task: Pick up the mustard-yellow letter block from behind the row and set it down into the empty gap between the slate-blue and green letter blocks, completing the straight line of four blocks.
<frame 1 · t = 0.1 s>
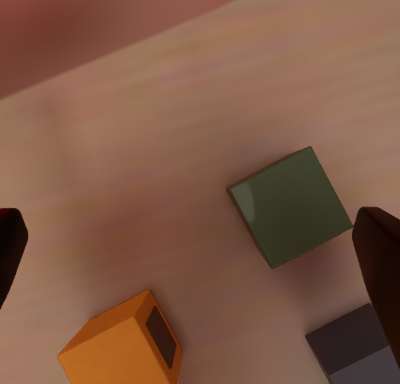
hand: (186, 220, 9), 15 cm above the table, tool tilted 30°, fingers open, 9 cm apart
green block: (274, 203, 24), on the table
mustard block: (135, 336, 24), on the table
slate block: (353, 351, 24), on the table
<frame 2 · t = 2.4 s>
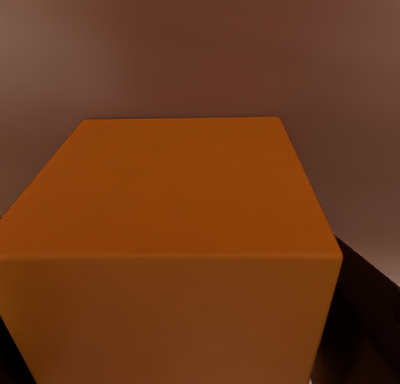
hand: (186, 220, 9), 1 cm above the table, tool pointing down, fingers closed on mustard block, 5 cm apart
mustard block: (185, 198, 10), on the table, touching gripper
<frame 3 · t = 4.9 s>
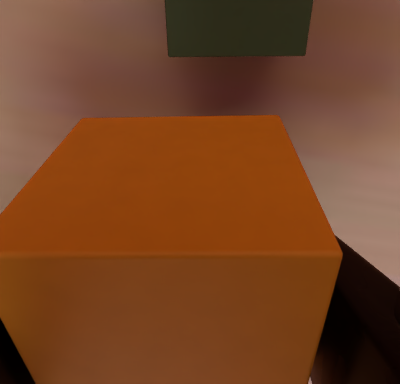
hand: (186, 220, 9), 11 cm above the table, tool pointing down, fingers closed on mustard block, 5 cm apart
mustard block: (184, 197, 10), point 10 cm above the table, touching gripper
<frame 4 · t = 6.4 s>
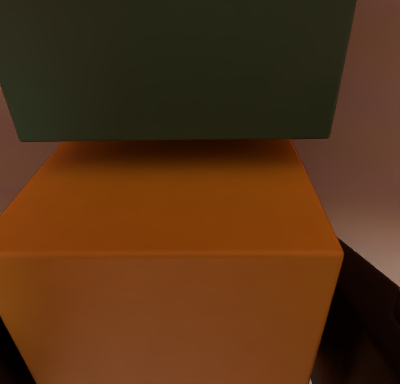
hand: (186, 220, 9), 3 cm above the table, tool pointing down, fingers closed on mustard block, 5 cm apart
mustard block: (185, 197, 10), point 2 cm above the table, touching gripper
when the fingers open (1 cm above the table, at t = 7.5 s): mustard block stays where it is, on the table.
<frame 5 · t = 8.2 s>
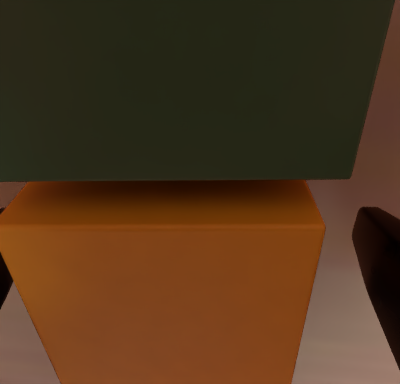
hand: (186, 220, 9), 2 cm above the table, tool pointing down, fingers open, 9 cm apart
mustard block: (184, 187, 11), on the table
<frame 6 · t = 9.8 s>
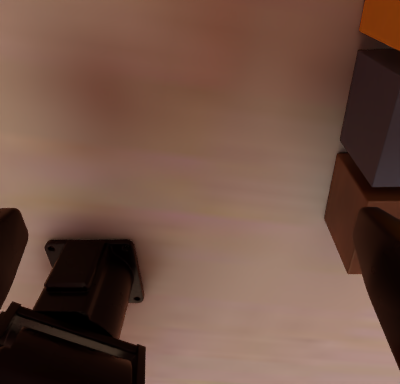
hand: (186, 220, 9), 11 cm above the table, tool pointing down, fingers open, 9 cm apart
walnut block: (370, 187, 22), on the table
slate block: (395, 97, 19), on the table
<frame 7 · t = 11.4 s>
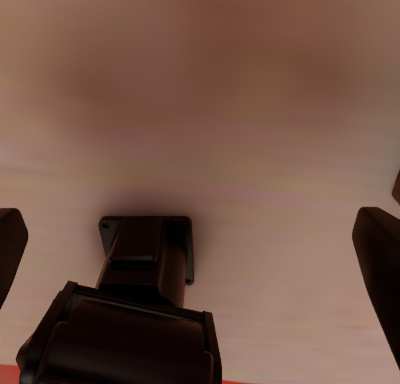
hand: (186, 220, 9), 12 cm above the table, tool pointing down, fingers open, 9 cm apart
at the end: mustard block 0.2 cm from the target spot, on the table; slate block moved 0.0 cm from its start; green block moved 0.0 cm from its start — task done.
